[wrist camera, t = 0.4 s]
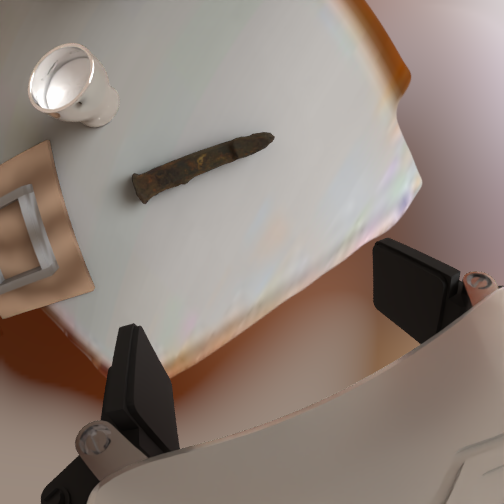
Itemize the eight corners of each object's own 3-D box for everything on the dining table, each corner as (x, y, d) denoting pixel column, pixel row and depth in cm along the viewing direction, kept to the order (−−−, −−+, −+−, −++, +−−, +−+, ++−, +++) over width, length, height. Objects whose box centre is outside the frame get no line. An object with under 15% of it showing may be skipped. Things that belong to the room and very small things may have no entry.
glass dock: (-39, 193, 25) (-54, 197, 21) (49, 140, 28) (37, 138, 25) (5, 315, 33) (-5, 328, 29) (95, 287, 36) (88, 300, 33)
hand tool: (142, 202, 35) (139, 208, 31) (132, 174, 34) (127, 176, 30) (273, 156, 38) (286, 156, 34) (265, 129, 37) (278, 126, 33)
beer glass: (67, 125, 29) (15, 109, 15) (86, 77, 27) (46, 38, 14) (111, 136, 31) (76, 121, 17) (131, 87, 30) (110, 46, 16)
